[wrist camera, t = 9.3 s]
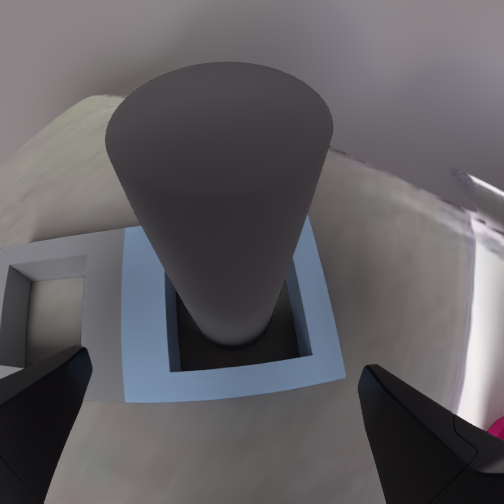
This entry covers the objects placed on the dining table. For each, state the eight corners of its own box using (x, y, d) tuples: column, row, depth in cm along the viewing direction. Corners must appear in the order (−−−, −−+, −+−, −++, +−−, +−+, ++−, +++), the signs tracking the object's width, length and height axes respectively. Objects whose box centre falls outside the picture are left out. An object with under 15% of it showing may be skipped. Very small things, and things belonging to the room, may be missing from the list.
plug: (283, 323, 17) (377, 136, 5) (222, 364, 16) (157, 251, 4) (242, 268, 19) (247, 50, 6) (183, 304, 18) (87, 107, 5)
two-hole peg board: (297, 234, 20) (306, 208, 18) (329, 380, 16) (346, 377, 13) (21, 265, 18) (0, 248, 15) (12, 389, 14) (-14, 384, 11)
